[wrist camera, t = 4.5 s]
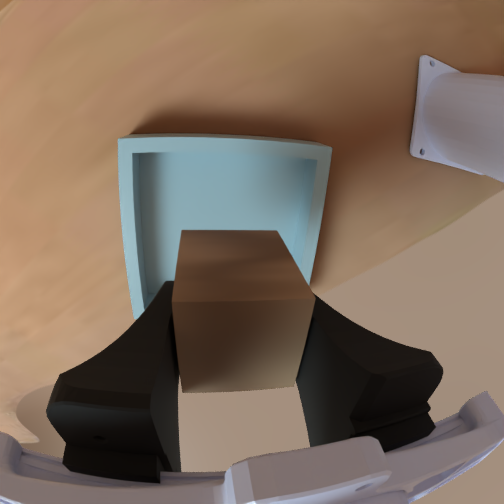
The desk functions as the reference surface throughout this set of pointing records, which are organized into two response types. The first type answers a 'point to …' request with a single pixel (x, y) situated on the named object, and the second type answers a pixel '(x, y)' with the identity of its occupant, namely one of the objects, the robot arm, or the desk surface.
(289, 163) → the tray
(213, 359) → the walnut block
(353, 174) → the desk surface
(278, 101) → the desk surface
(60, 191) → the desk surface
